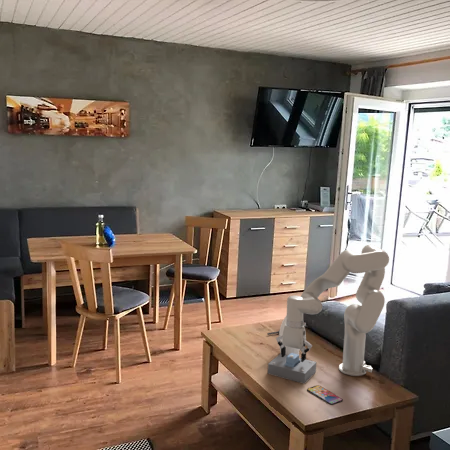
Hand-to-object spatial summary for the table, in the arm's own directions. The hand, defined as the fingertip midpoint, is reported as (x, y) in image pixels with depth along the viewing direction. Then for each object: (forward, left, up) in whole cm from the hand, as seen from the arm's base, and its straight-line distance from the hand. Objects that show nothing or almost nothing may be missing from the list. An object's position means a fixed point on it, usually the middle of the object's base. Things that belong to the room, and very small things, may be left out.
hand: (293, 358), depth 237 cm
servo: (0, 0, -7) cm, 7 cm away
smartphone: (-20, +12, -8) cm, 24 cm away
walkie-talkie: (+21, -40, -8) cm, 46 cm away
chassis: (0, 0, -7) cm, 7 cm away
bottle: (+9, -18, -7) cm, 21 cm away
